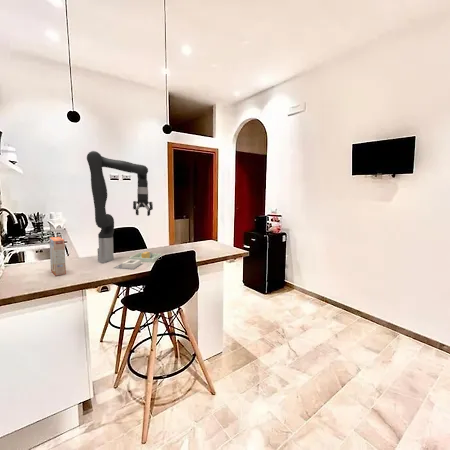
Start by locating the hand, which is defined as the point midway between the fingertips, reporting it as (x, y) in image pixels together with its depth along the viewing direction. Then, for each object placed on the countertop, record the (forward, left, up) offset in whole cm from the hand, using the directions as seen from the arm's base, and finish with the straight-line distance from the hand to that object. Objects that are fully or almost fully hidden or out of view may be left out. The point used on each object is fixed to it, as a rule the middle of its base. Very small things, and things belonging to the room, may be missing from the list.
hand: (143, 215), depth 194 cm
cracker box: (-33, -45, -32) cm, 64 cm away
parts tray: (+5, -7, -32) cm, 33 cm away
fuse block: (+2, -26, -32) cm, 41 cm away
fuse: (+5, -1, -29) cm, 29 cm away
